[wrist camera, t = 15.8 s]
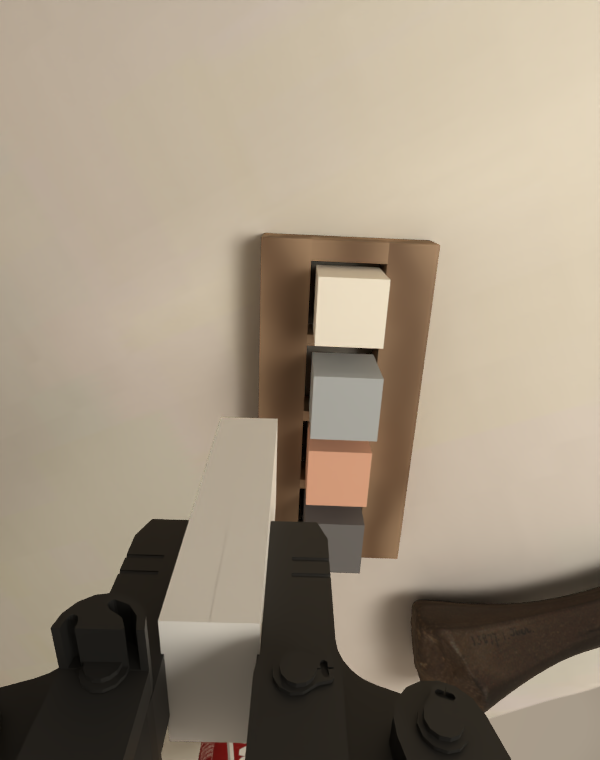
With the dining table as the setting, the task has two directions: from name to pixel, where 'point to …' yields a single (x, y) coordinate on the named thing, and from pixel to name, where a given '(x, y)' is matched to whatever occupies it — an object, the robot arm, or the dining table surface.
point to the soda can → (222, 751)
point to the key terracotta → (337, 472)
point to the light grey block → (345, 396)
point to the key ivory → (350, 306)
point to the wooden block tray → (396, 360)
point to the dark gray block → (339, 533)
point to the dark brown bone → (500, 641)
